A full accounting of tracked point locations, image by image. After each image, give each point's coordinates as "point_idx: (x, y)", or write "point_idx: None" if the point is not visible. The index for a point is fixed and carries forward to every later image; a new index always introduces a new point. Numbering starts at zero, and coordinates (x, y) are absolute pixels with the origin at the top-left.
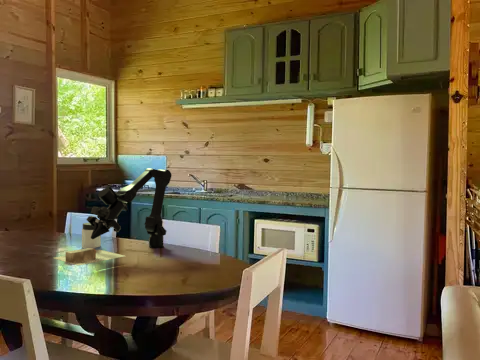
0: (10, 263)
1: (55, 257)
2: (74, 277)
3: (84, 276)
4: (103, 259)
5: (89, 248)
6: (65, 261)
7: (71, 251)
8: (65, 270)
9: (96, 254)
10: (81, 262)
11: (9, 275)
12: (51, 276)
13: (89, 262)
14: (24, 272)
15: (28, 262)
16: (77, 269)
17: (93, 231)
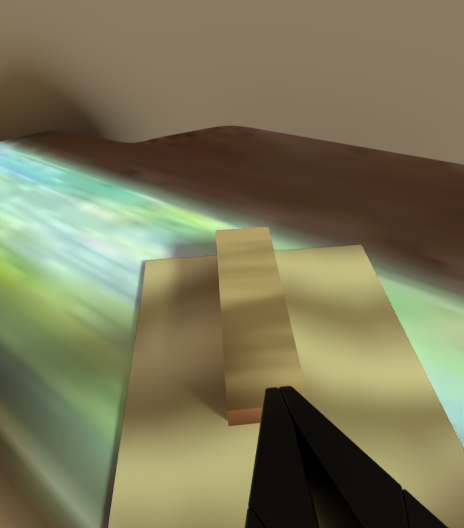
0: (353, 154)
1: (365, 256)
2: (42, 200)
3: (16, 222)
4: (146, 442)
5: None
6: None
7: (256, 249)
8: (143, 215)
9: None
10: (185, 294)
11: (214, 127)
12: (117, 170)
13: (152, 323)
14: (217, 148)
15: (342, 183)
16: (117, 245)
17: (364, 477)
